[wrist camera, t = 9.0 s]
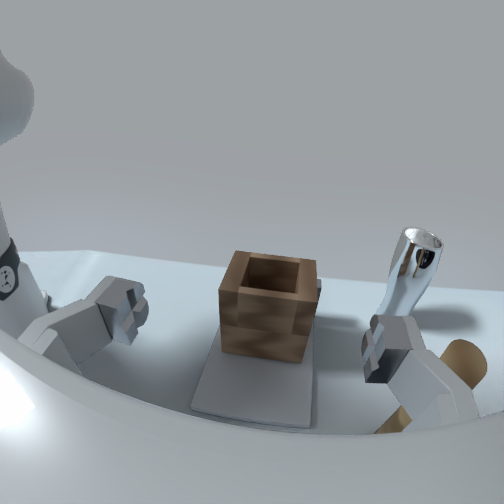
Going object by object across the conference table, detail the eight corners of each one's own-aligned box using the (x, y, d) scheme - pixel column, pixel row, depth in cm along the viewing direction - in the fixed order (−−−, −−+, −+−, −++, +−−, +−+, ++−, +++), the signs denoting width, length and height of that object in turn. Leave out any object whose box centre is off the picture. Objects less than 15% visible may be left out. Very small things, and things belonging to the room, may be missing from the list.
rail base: (190, 409, 26) (181, 378, 23) (229, 303, 42) (228, 267, 39) (308, 428, 25) (323, 400, 21) (312, 314, 41) (320, 278, 37)
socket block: (221, 351, 33) (218, 289, 28) (235, 310, 40) (235, 250, 34) (301, 363, 31) (317, 302, 26) (303, 319, 38) (315, 260, 33)
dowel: (365, 463, 20) (456, 383, 12) (364, 433, 23) (440, 339, 15) (397, 460, 19) (493, 377, 11) (395, 431, 23) (476, 338, 15)
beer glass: (365, 308, 42) (391, 225, 34) (397, 303, 43) (425, 226, 35) (384, 338, 36) (420, 251, 28) (416, 330, 37) (453, 249, 29)
